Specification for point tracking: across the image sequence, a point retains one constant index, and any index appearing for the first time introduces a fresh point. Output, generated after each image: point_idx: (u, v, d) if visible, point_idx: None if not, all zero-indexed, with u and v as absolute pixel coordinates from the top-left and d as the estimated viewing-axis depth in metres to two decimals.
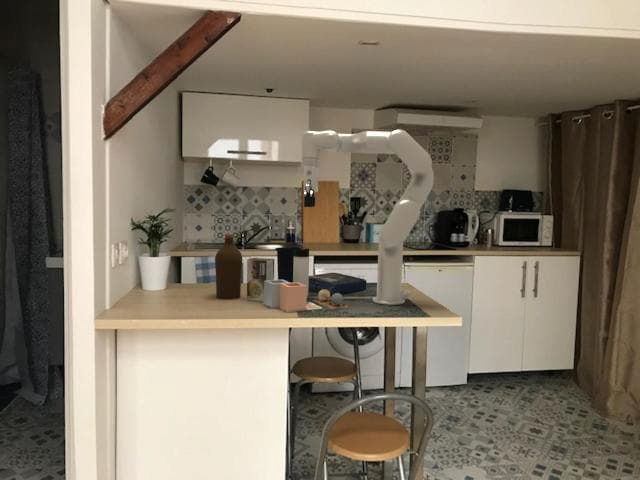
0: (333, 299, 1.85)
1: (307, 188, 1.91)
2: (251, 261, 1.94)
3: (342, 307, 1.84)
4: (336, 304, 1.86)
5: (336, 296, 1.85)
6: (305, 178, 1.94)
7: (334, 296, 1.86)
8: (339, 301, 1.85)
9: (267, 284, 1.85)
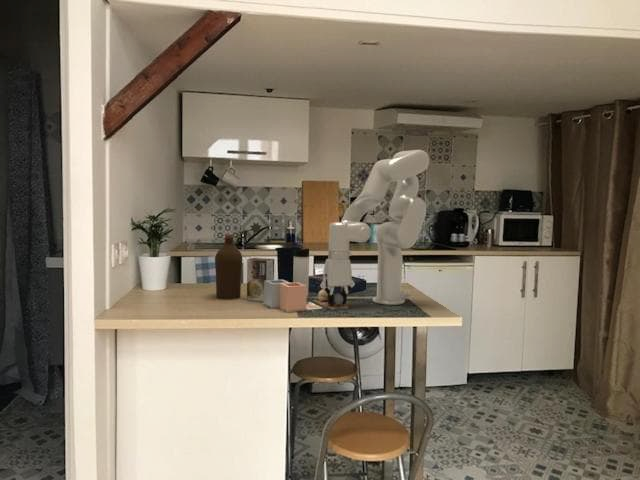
0: None
1: None
2: (251, 261, 1.94)
3: (342, 307, 1.84)
4: (336, 304, 1.86)
5: (336, 296, 1.85)
6: None
7: (334, 296, 1.86)
8: (339, 301, 1.85)
9: (267, 284, 1.85)
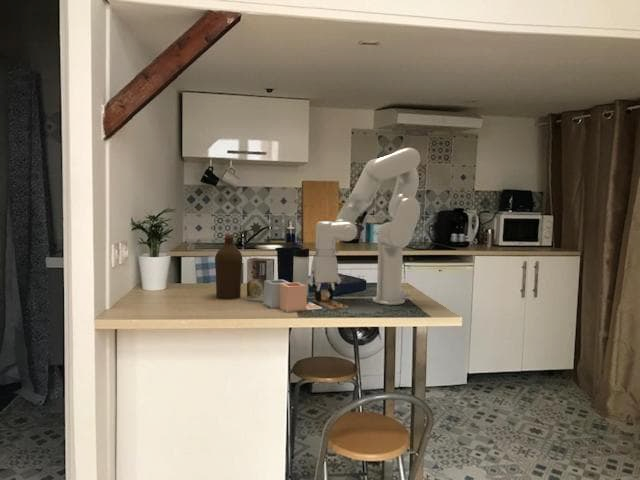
0: None
1: None
2: (251, 261, 1.94)
3: (342, 307, 1.84)
4: None
5: None
6: None
7: None
8: None
9: (267, 284, 1.85)
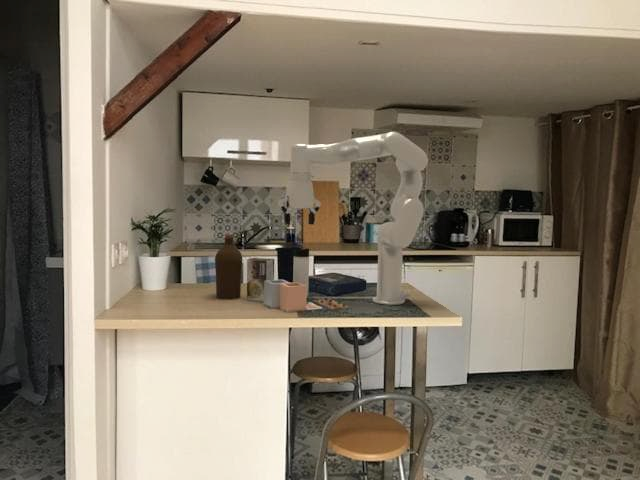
0: None
1: None
2: (251, 261, 1.94)
3: (342, 307, 1.84)
4: None
5: None
6: None
7: None
8: None
9: (267, 284, 1.85)
